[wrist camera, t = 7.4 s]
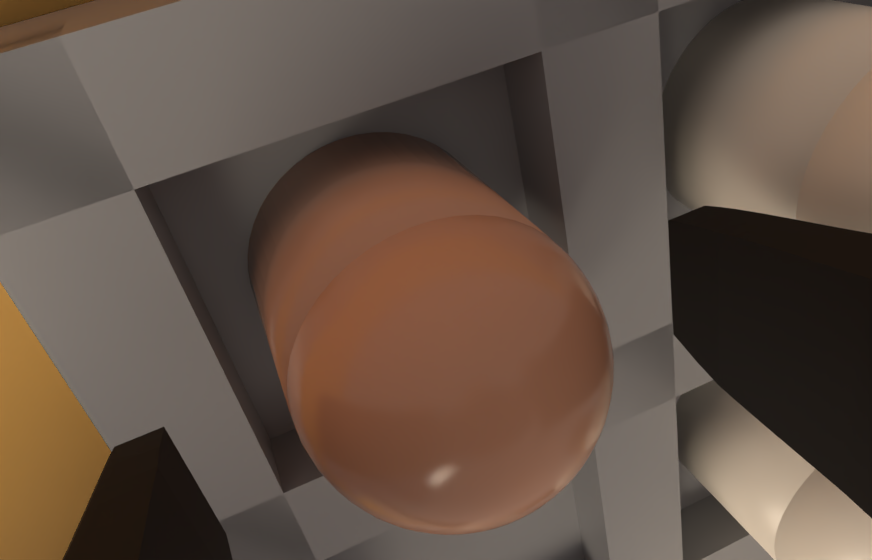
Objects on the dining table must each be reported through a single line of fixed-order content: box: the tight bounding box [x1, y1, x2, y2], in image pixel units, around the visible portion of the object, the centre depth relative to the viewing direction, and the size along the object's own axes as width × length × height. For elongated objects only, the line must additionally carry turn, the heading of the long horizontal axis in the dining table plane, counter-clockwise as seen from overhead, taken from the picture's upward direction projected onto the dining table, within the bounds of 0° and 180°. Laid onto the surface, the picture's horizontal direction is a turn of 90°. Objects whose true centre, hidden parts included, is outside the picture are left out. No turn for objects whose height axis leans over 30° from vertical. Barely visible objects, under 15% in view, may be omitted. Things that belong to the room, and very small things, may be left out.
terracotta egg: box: [248, 132, 614, 535], centre depth 10 cm, size 4×4×6 cm
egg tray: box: [0, 0, 872, 560], centre depth 16 cm, size 18×26×7 cm
